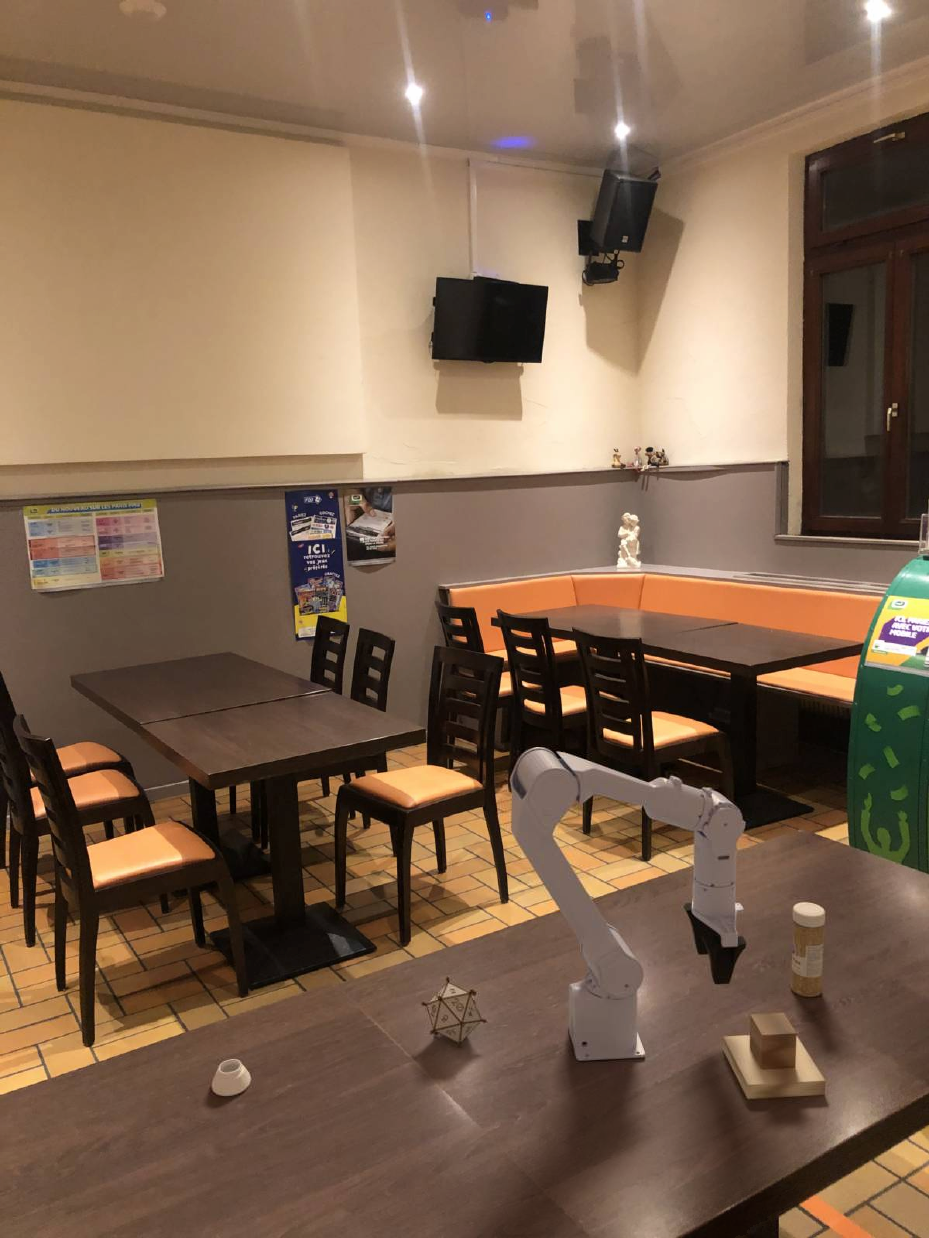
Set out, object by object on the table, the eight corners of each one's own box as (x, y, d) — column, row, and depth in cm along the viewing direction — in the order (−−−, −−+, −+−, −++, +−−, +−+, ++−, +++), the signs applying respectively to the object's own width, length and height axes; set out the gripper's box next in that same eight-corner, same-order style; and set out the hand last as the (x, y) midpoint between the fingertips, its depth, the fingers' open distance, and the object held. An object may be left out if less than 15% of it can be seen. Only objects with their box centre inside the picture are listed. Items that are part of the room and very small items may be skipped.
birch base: (747, 1098, 118) (748, 1084, 118) (723, 1049, 128) (723, 1036, 128) (824, 1094, 119) (825, 1080, 118) (794, 1045, 129) (794, 1032, 128)
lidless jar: (204, 1093, 123) (236, 1101, 121) (202, 1073, 122) (235, 1081, 121) (226, 1070, 128) (258, 1077, 126) (225, 1051, 127) (256, 1058, 125)
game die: (469, 1058, 134) (509, 1013, 131) (429, 1067, 128) (470, 1019, 125) (438, 1005, 140) (476, 960, 137) (399, 1011, 133) (438, 964, 131)
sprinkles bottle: (785, 982, 144) (787, 902, 141) (813, 980, 144) (816, 899, 142) (798, 999, 139) (801, 916, 137) (827, 997, 140) (831, 914, 137)
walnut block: (761, 1069, 121) (762, 1034, 120) (749, 1047, 125) (750, 1014, 124) (795, 1067, 121) (796, 1032, 120) (782, 1046, 125) (783, 1012, 125)
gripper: (761, 901, 122) (758, 995, 125) (726, 854, 136) (724, 939, 139) (708, 903, 122) (707, 997, 124) (678, 856, 136) (678, 942, 139)
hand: (713, 967), depth 132 cm, fingers open, 7 cm apart
